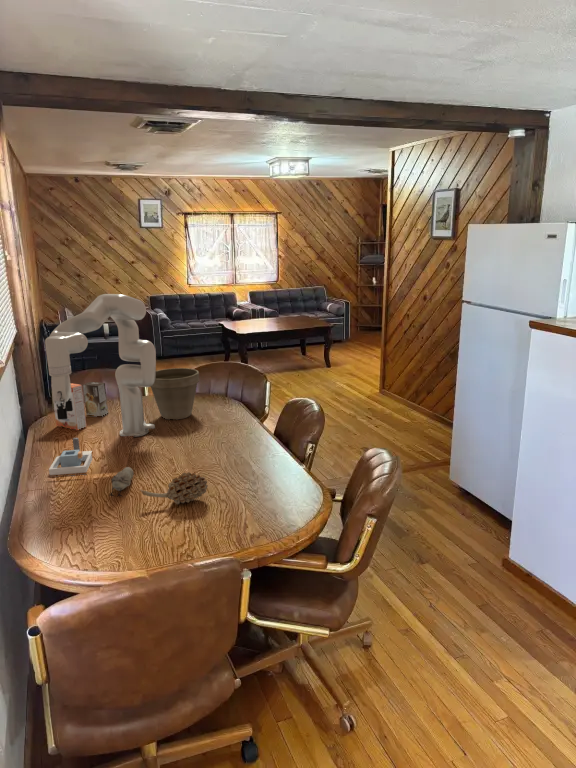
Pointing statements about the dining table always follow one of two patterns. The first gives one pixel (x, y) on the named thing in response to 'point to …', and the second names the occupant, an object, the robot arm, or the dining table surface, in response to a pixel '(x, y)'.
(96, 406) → the coffee box
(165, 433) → the dining table surface
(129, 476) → the decorative bird
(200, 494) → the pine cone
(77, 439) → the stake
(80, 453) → the collar
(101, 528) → the dining table surface
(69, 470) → the tray
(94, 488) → the dining table surface
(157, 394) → the plant pot
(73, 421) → the cracker box
